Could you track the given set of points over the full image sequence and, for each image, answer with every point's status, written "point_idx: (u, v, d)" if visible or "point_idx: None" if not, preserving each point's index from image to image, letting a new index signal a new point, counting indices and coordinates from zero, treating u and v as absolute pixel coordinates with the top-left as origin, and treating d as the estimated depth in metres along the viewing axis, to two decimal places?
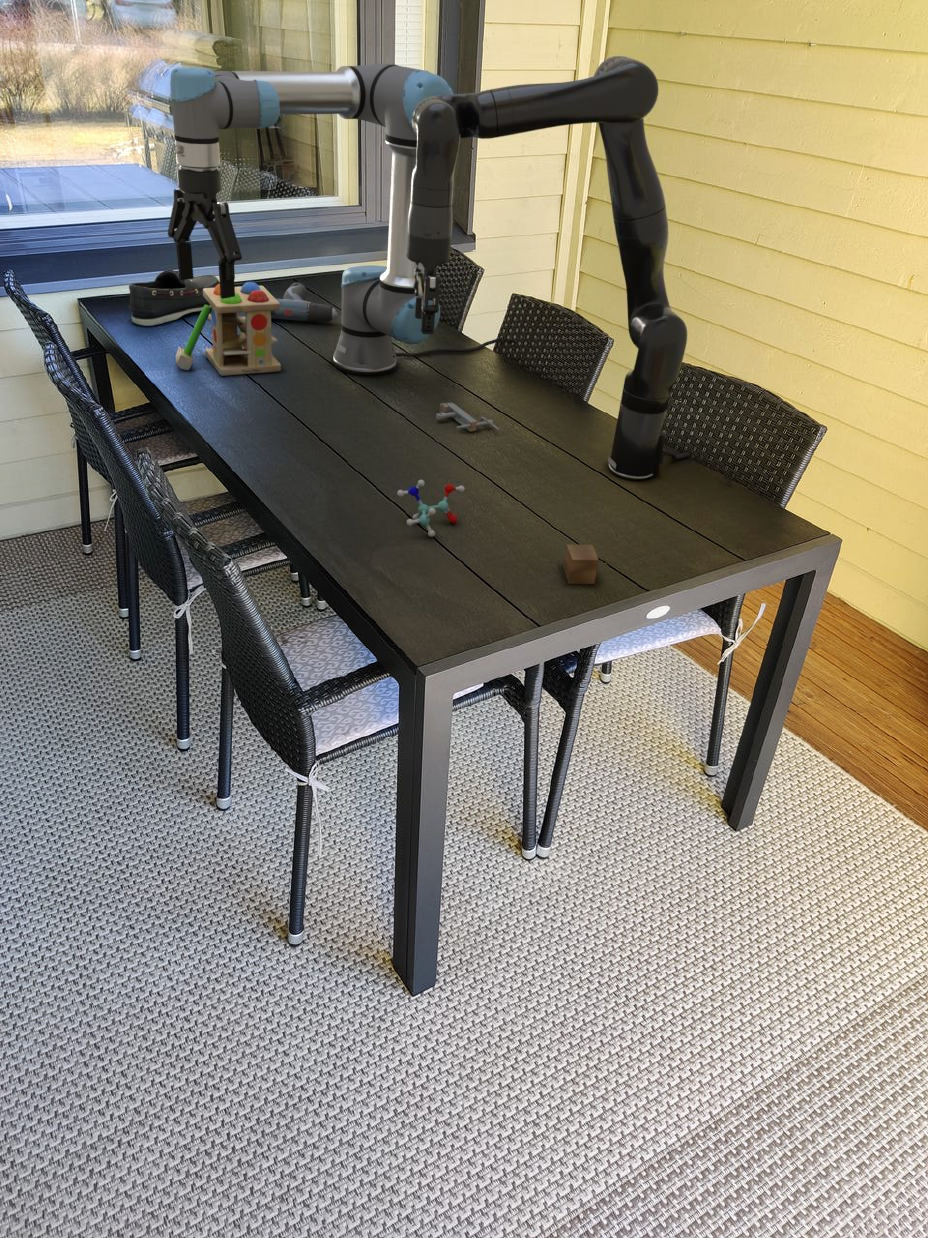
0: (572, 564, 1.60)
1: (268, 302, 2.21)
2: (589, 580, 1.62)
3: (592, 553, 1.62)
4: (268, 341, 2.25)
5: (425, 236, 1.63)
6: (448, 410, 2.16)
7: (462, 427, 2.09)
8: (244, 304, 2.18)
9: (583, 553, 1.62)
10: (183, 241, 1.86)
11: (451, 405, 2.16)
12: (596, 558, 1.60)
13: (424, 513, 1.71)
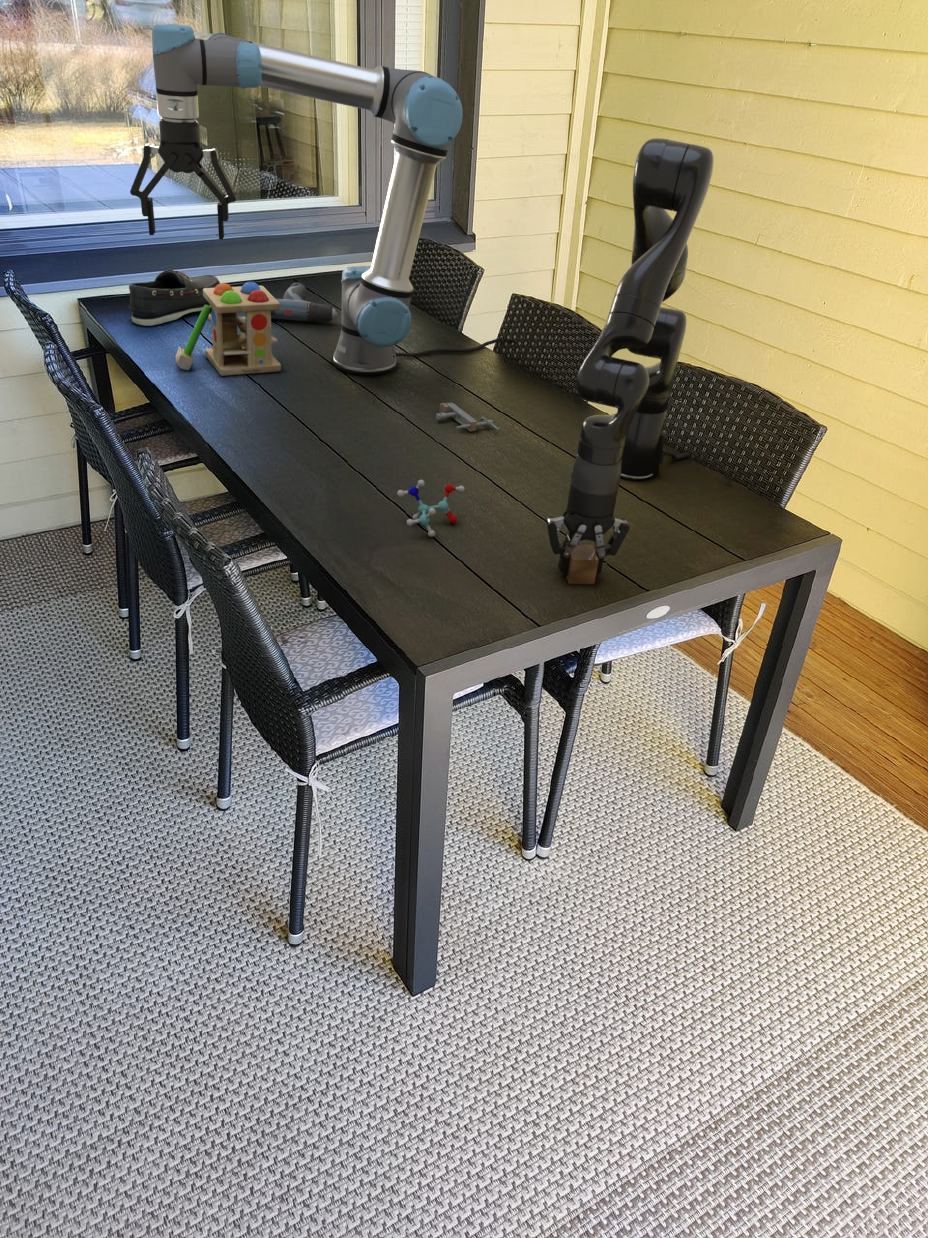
0: (572, 564, 1.60)
1: (268, 302, 2.21)
2: (589, 580, 1.62)
3: (592, 553, 1.62)
4: (268, 341, 2.25)
5: (571, 478, 1.55)
6: (448, 410, 2.16)
7: (462, 427, 2.09)
8: (244, 304, 2.18)
9: (583, 553, 1.62)
10: (147, 196, 1.93)
11: (451, 405, 2.16)
12: (596, 558, 1.60)
13: (424, 513, 1.71)
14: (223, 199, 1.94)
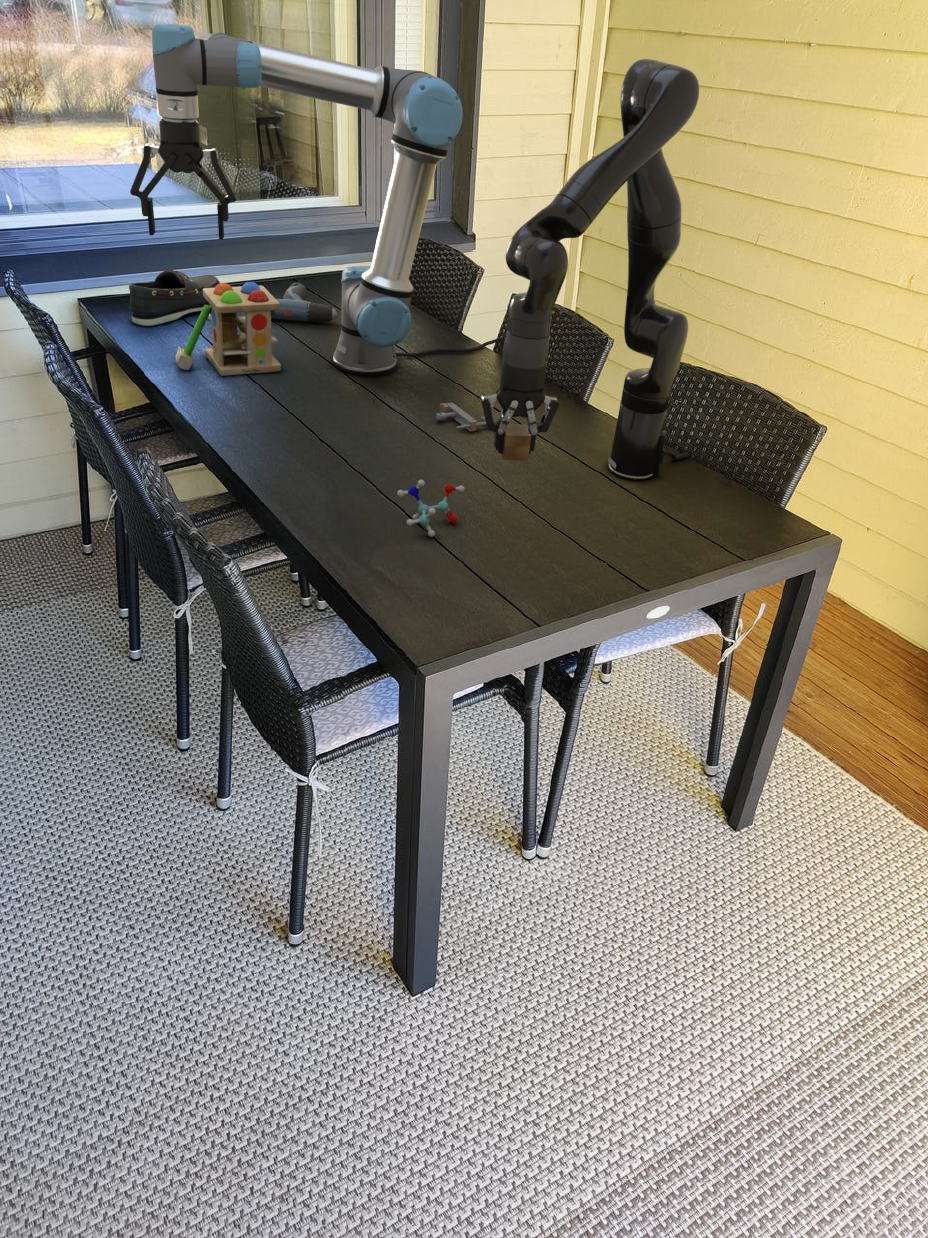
0: (506, 440, 1.70)
1: (268, 302, 2.21)
2: (523, 456, 1.72)
3: (525, 431, 1.72)
4: (268, 341, 2.25)
5: None
6: (448, 410, 2.16)
7: (462, 427, 2.09)
8: (244, 304, 2.18)
9: (517, 430, 1.71)
10: (147, 196, 1.93)
11: (451, 405, 2.16)
12: (529, 434, 1.70)
13: (424, 513, 1.71)
14: (223, 199, 1.94)
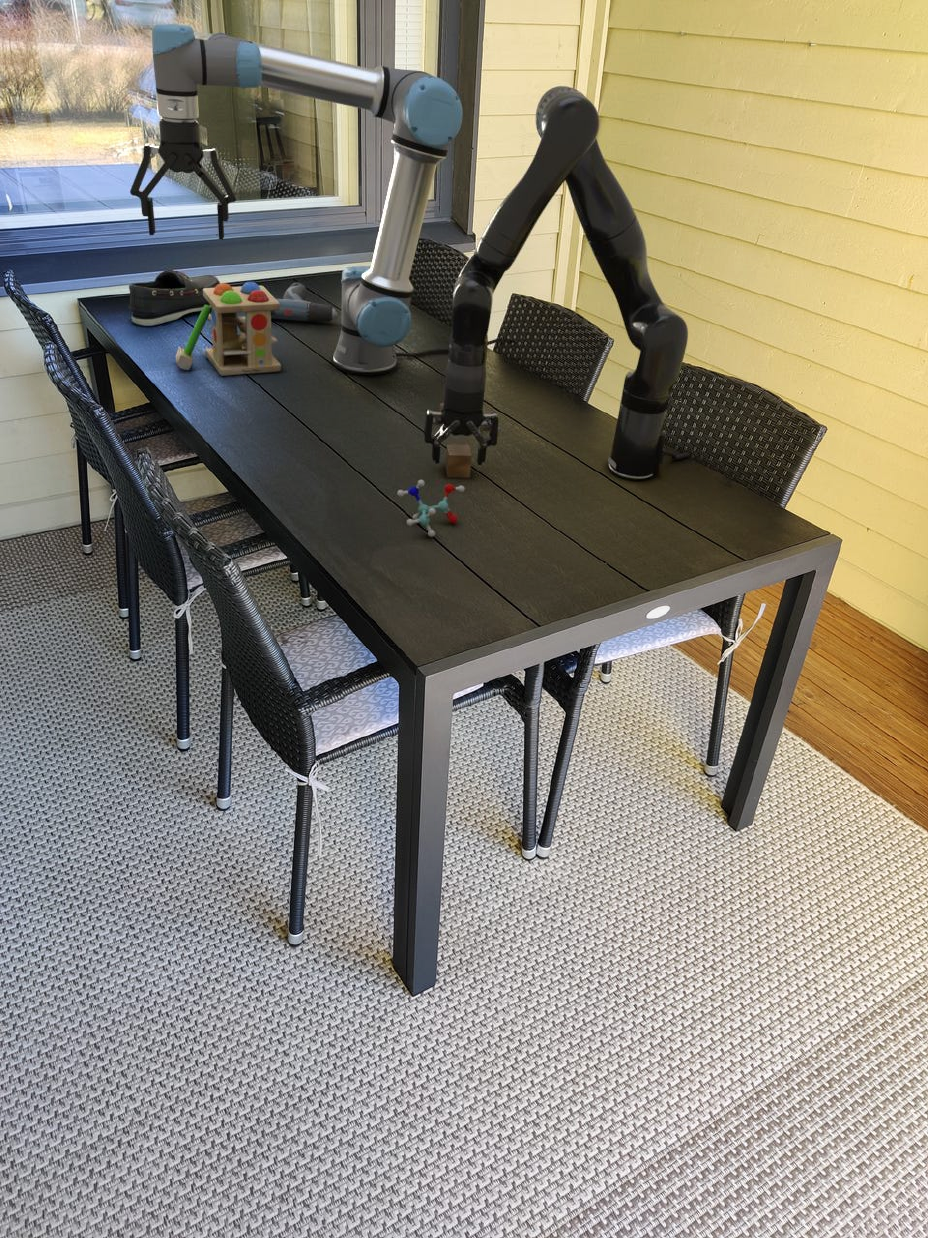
0: (449, 459, 1.89)
1: (268, 302, 2.21)
2: (465, 474, 1.91)
3: (467, 451, 1.91)
4: (268, 341, 2.25)
5: None
6: None
7: None
8: (244, 304, 2.18)
9: (459, 450, 1.91)
10: (147, 196, 1.93)
11: None
12: (470, 454, 1.90)
13: (424, 513, 1.71)
14: (223, 199, 1.94)
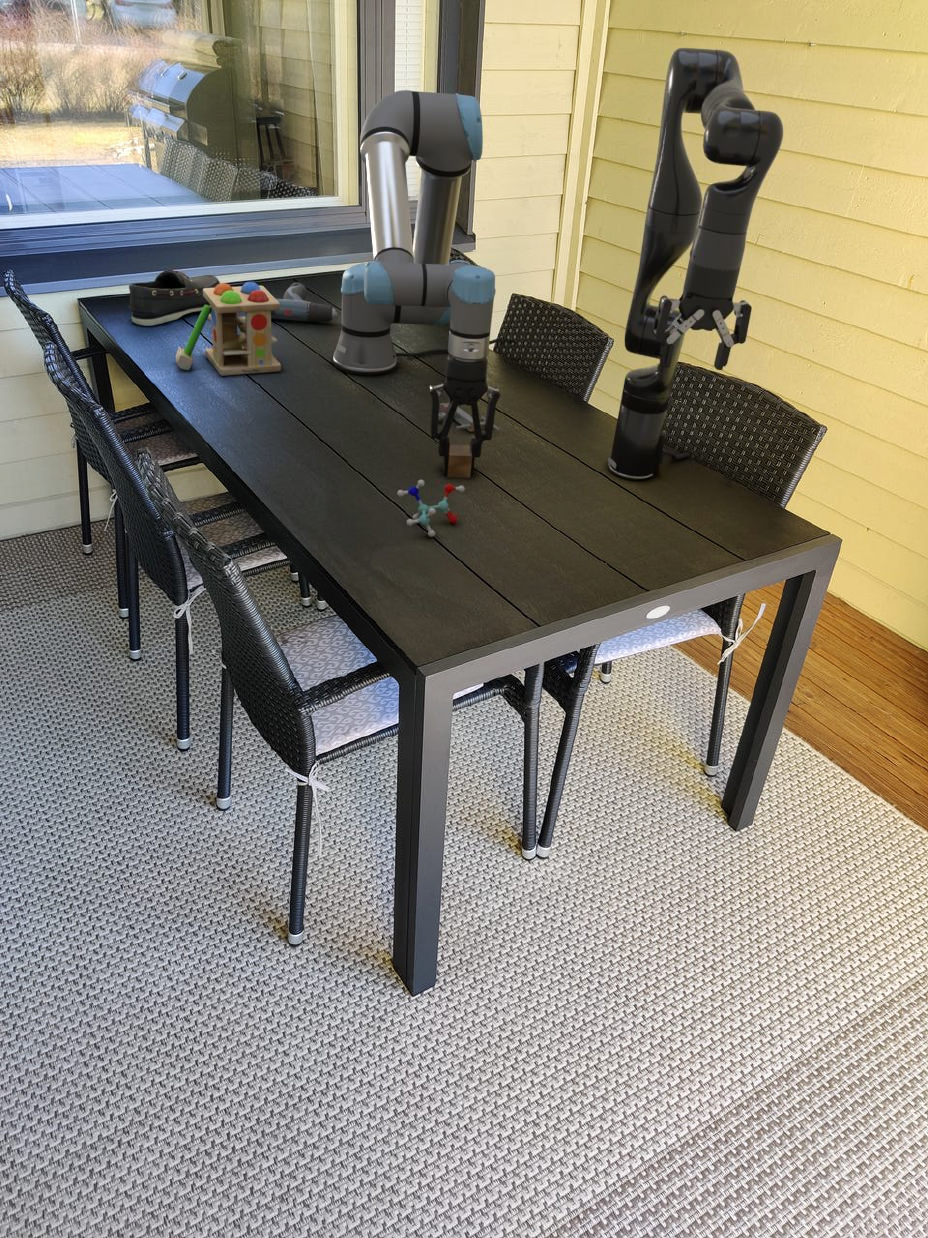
0: (450, 459, 1.89)
1: (268, 302, 2.21)
2: (465, 474, 1.91)
3: (467, 451, 1.91)
4: (268, 341, 2.25)
5: None
6: None
7: (462, 427, 2.09)
8: (244, 304, 2.18)
9: (460, 450, 1.91)
10: None
11: None
12: (470, 454, 1.90)
13: (424, 513, 1.71)
14: (480, 438, 1.89)
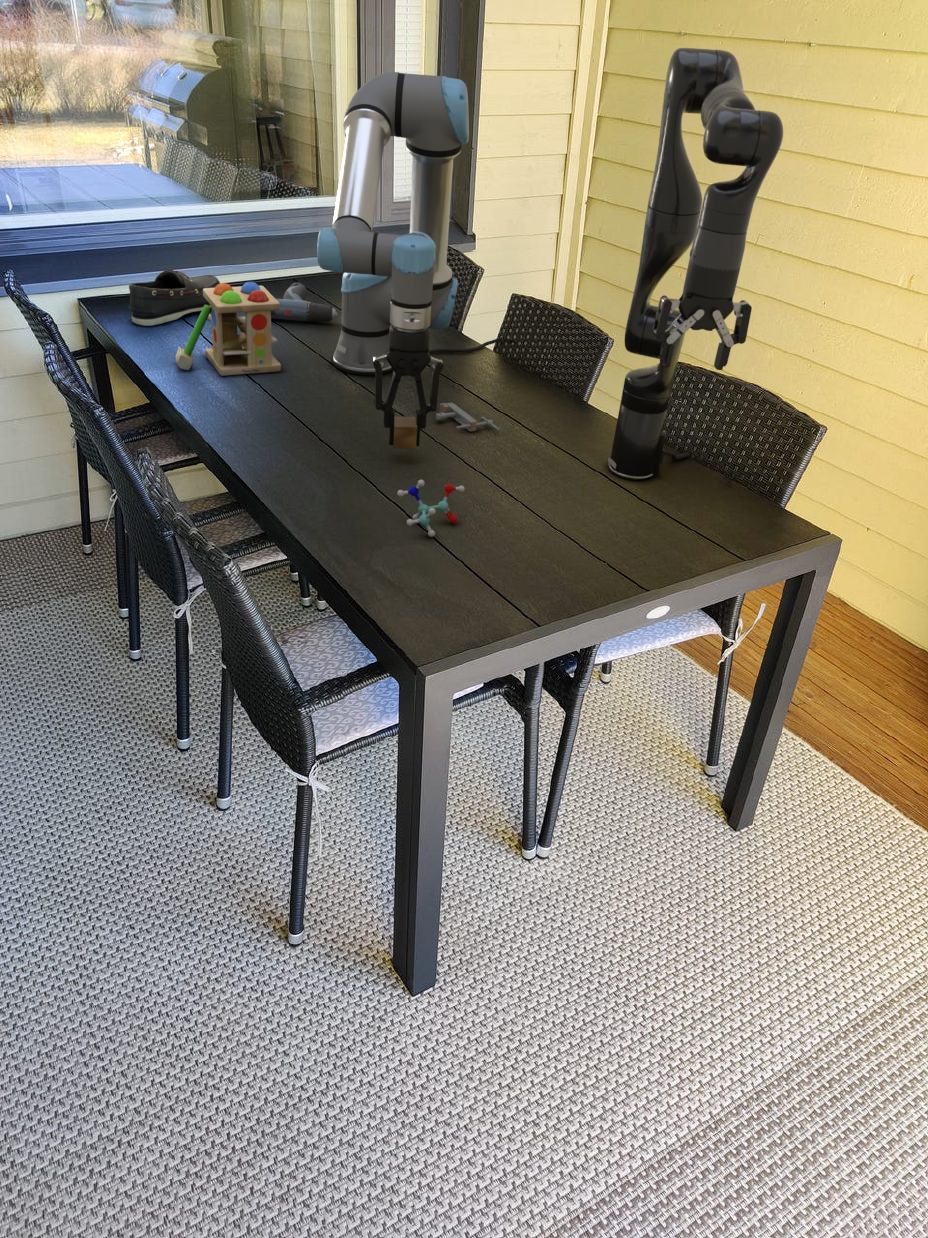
0: (395, 430, 1.90)
1: (268, 302, 2.21)
2: (411, 445, 1.92)
3: (413, 422, 1.92)
4: (268, 341, 2.25)
5: None
6: (448, 410, 2.16)
7: (462, 427, 2.09)
8: (244, 304, 2.18)
9: (405, 422, 1.91)
10: None
11: (451, 405, 2.16)
12: (415, 425, 1.90)
13: (424, 513, 1.71)
14: (424, 409, 1.89)
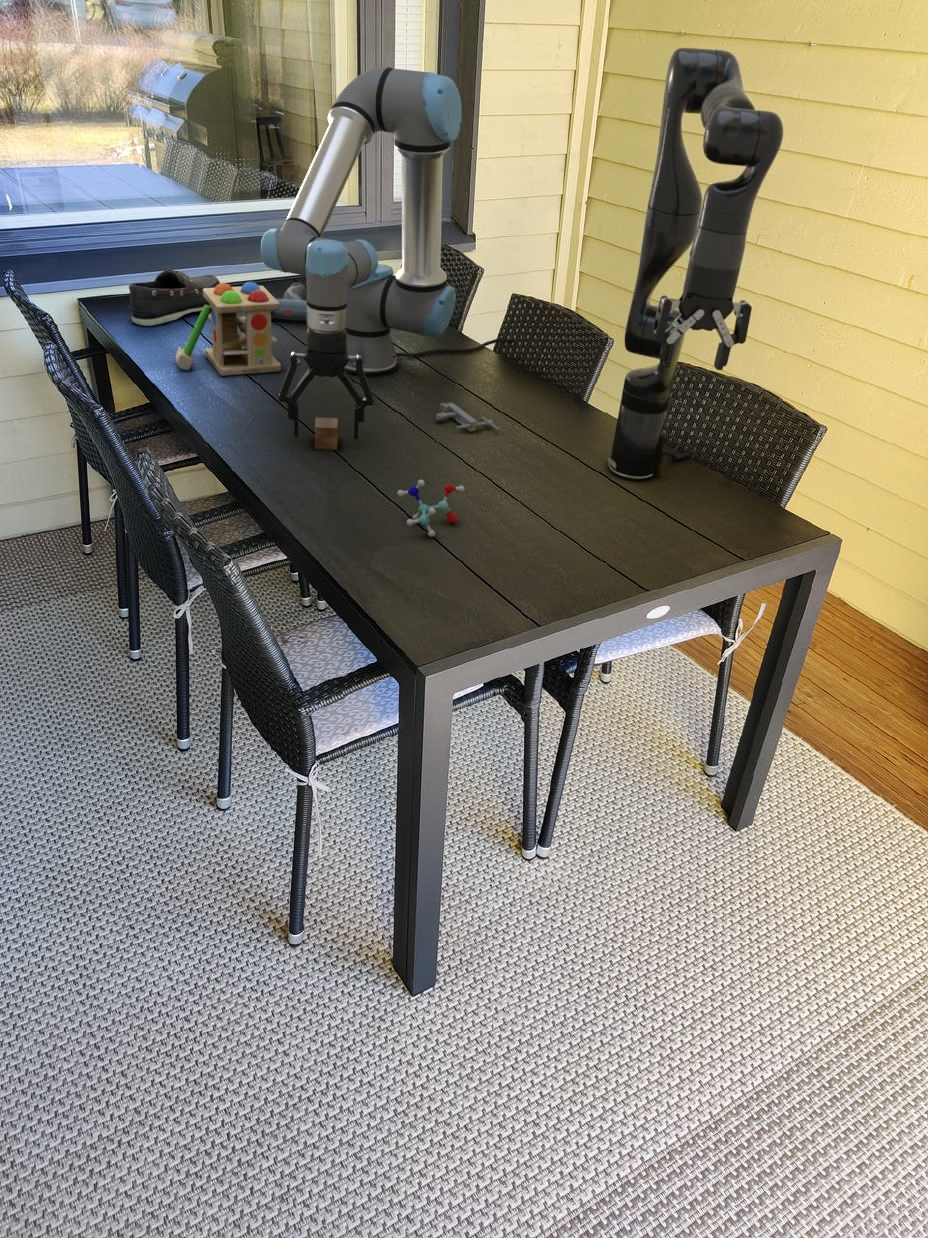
0: (315, 431, 1.95)
1: (268, 302, 2.21)
2: (332, 446, 1.97)
3: (334, 423, 1.96)
4: (268, 341, 2.25)
5: None
6: (448, 410, 2.16)
7: (462, 427, 2.09)
8: (244, 304, 2.18)
9: (326, 423, 1.96)
10: None
11: (451, 405, 2.16)
12: (335, 426, 1.95)
13: (424, 513, 1.71)
14: (361, 403, 1.94)
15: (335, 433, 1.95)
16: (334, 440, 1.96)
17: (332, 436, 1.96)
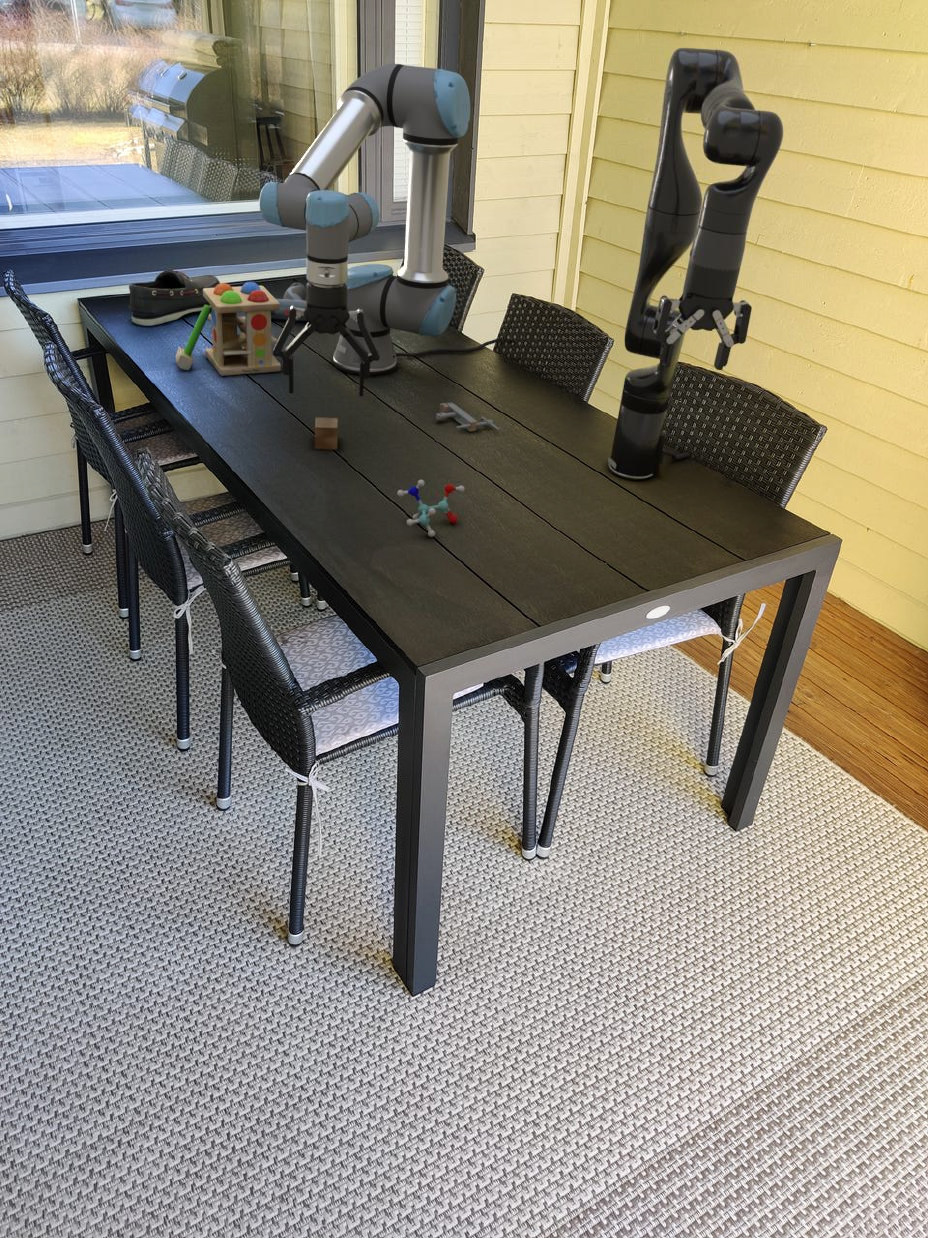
0: (315, 431, 1.95)
1: (268, 302, 2.21)
2: (332, 446, 1.97)
3: (334, 423, 1.96)
4: (268, 341, 2.25)
5: None
6: (448, 410, 2.16)
7: (462, 427, 2.09)
8: (244, 304, 2.18)
9: (326, 423, 1.96)
10: None
11: (451, 405, 2.16)
12: (335, 426, 1.95)
13: (424, 513, 1.71)
14: (366, 358, 1.89)
15: (335, 433, 1.95)
16: (334, 440, 1.96)
17: (332, 436, 1.96)
